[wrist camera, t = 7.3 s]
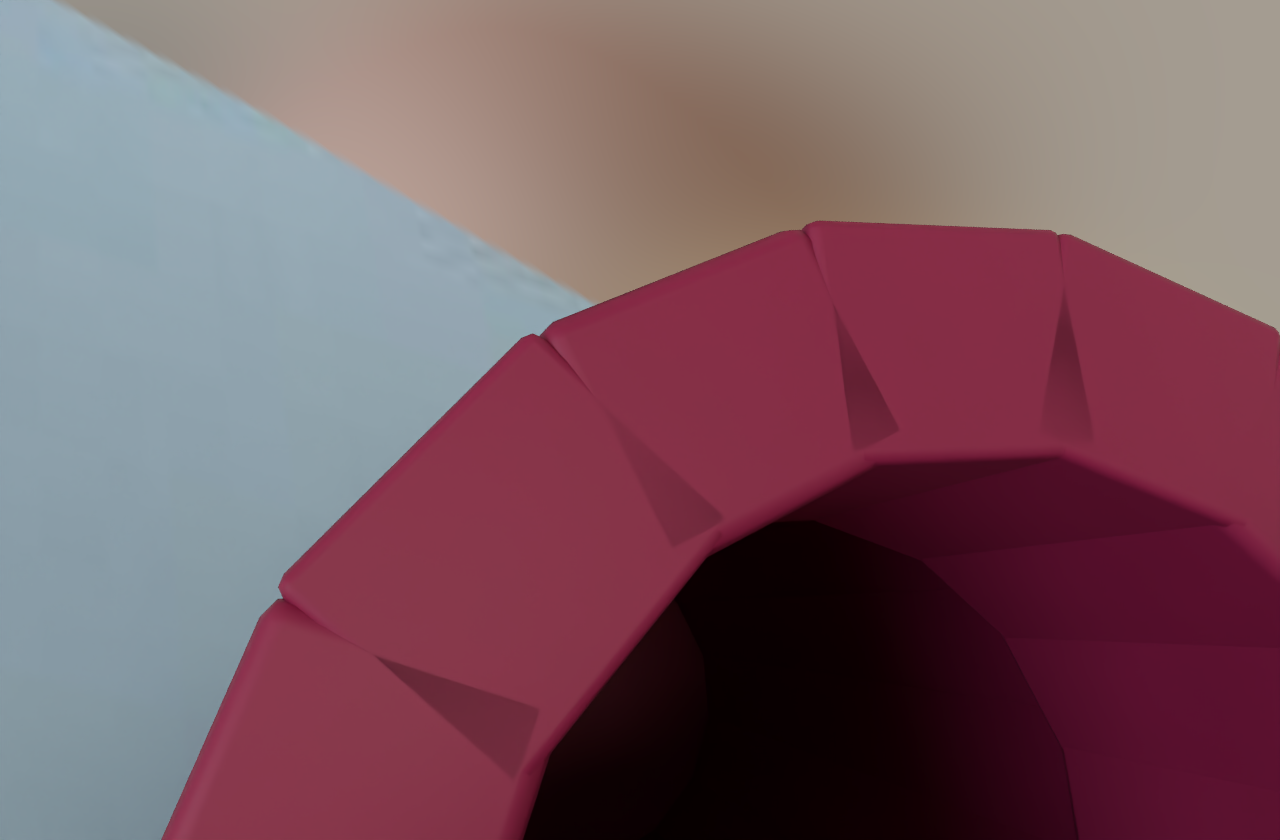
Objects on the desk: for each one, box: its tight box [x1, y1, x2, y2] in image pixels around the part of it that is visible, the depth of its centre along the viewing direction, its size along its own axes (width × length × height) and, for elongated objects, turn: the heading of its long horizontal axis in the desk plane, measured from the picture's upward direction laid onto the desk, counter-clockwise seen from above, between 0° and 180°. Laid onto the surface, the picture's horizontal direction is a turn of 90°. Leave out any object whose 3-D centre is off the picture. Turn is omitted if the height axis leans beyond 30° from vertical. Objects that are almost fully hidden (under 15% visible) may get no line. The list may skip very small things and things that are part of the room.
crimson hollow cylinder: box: [161, 221, 1280, 840], centre depth 9 cm, size 6×6×13 cm
